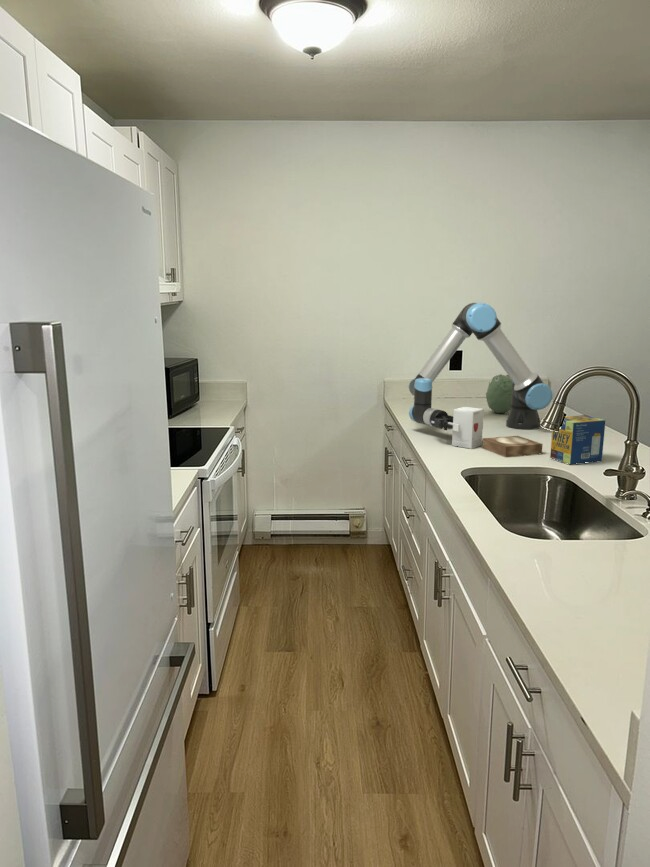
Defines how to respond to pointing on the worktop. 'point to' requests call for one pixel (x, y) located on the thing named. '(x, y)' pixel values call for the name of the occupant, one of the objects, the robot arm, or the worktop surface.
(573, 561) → the worktop surface
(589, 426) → the protein box
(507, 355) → the robot arm
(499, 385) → the cabbage
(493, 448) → the pedestal
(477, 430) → the supplement box
